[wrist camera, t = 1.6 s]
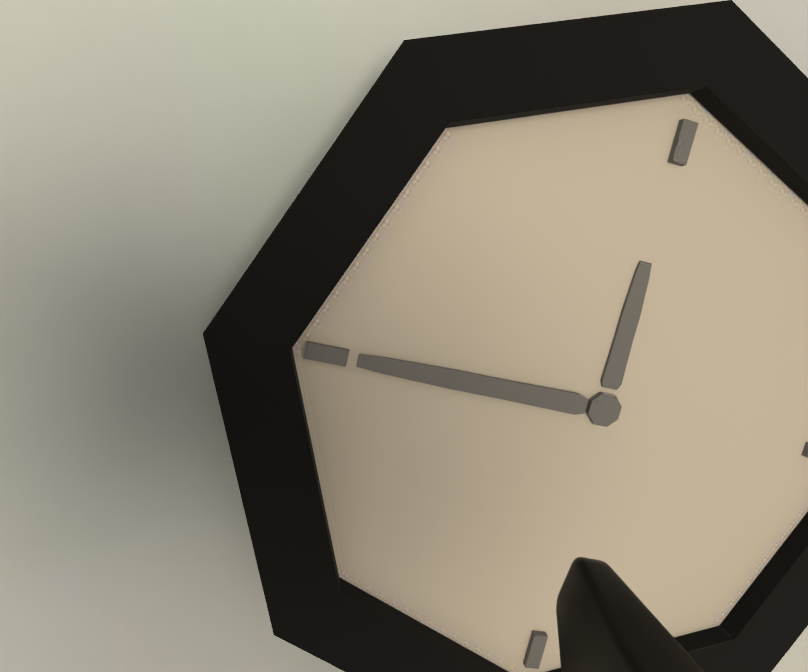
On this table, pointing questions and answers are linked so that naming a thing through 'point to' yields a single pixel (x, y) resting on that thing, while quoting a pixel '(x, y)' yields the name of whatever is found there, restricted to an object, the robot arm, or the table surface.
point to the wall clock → (536, 350)
